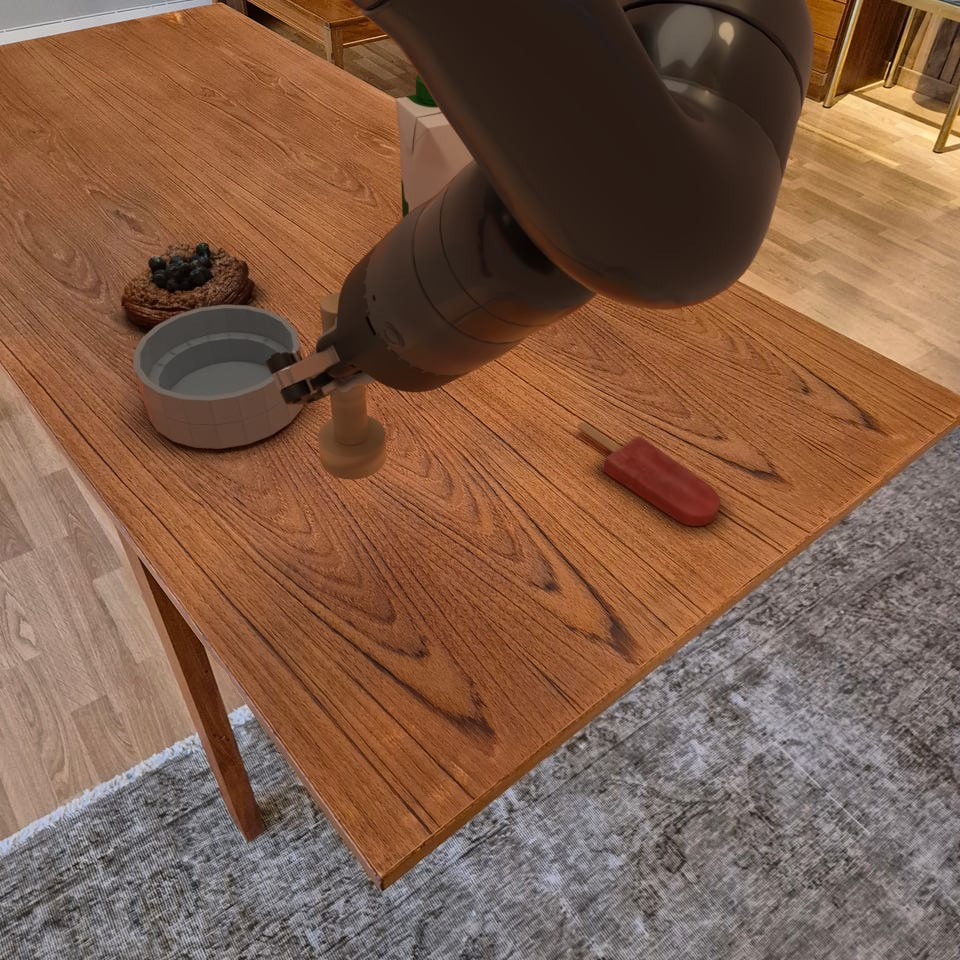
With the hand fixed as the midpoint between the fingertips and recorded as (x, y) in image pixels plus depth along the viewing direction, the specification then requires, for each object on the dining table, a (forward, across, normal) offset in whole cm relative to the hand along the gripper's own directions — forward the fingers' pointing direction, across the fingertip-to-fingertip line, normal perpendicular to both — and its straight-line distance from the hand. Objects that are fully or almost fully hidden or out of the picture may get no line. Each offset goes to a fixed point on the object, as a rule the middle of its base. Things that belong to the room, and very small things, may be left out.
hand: (329, 376), depth 57 cm
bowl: (+29, -1, -4) cm, 29 cm away
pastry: (+41, -6, -16) cm, 44 cm away
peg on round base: (+2, 0, +5) cm, 6 cm away
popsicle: (+8, -25, +18) cm, 32 cm away
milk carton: (+34, -32, -9) cm, 48 cm away
